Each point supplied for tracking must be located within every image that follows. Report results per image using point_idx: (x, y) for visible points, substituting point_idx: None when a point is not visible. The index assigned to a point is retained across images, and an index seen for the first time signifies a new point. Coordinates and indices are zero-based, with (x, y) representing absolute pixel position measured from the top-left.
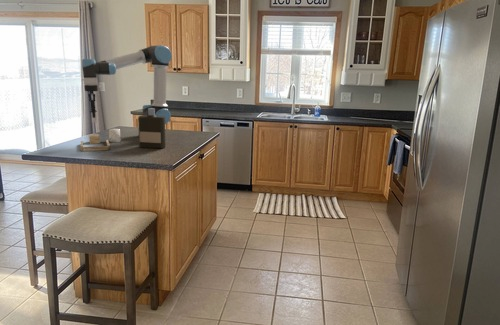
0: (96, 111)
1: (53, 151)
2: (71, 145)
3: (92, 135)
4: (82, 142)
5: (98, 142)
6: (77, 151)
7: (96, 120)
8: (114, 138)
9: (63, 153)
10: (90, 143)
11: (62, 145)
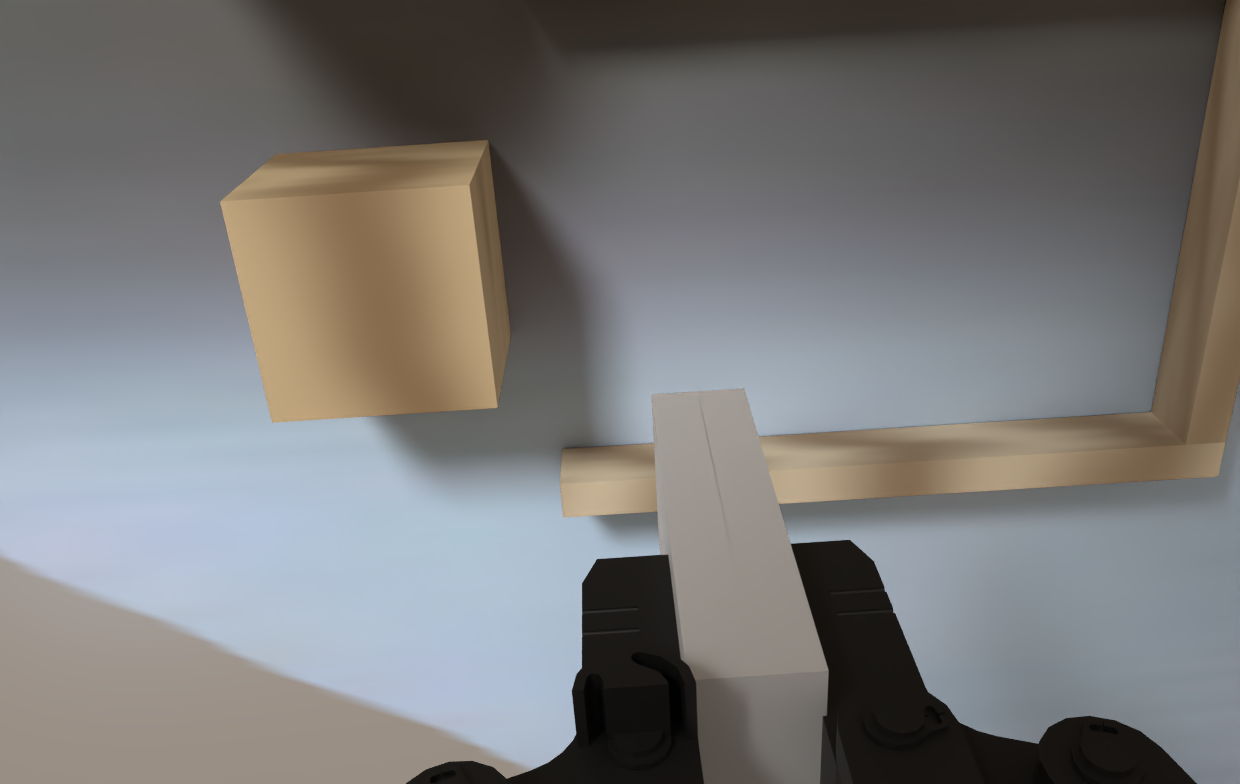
0: (675, 667)
1: None
2: None
3: (376, 346)
4: None
5: (488, 171)
6: (1170, 490)
7: (752, 432)
8: None
9: (1231, 655)
10: (509, 326)
11: None
